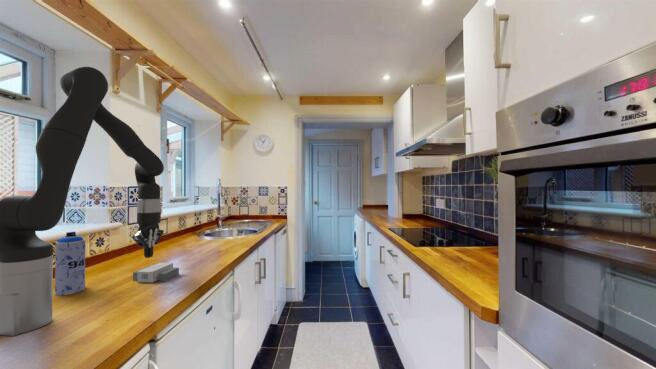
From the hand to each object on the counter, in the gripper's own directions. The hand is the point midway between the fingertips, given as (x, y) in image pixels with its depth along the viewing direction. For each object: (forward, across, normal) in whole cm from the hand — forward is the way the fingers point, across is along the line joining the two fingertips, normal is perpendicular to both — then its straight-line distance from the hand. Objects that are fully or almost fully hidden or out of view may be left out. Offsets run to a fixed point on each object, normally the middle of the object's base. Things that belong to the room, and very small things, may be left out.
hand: (148, 257), depth 102 cm
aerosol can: (+9, -12, +19) cm, 24 cm away
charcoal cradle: (+9, +4, 0) cm, 10 cm away
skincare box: (+7, -2, 0) cm, 7 cm away
